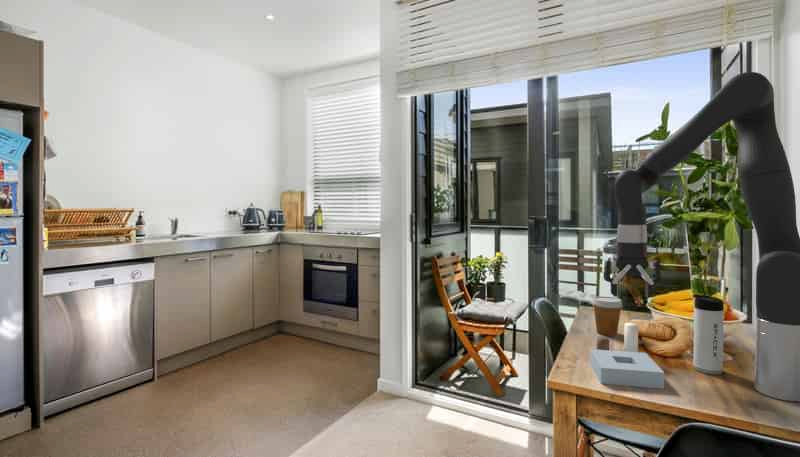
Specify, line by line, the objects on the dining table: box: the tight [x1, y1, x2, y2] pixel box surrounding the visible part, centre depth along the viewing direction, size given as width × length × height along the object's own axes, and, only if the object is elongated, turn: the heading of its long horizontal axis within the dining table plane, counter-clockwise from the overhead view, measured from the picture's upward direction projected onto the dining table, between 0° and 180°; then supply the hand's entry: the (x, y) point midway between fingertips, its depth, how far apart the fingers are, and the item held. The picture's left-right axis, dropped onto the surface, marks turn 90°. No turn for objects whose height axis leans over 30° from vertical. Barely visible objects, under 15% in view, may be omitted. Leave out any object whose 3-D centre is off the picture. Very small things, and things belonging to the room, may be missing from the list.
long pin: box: [623, 322, 639, 352], centre depth 119 cm, size 3×3×10 cm
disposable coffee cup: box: [591, 296, 623, 337], centre depth 144 cm, size 10×10×12 cm
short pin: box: [596, 336, 610, 350], centre depth 123 cm, size 3×3×5 cm
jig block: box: [589, 348, 665, 390], centre depth 108 cm, size 14×14×4 cm
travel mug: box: [692, 293, 725, 376], centre depth 110 cm, size 6×7×20 cm
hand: (631, 296), depth 119 cm, fingers open, 8 cm apart
